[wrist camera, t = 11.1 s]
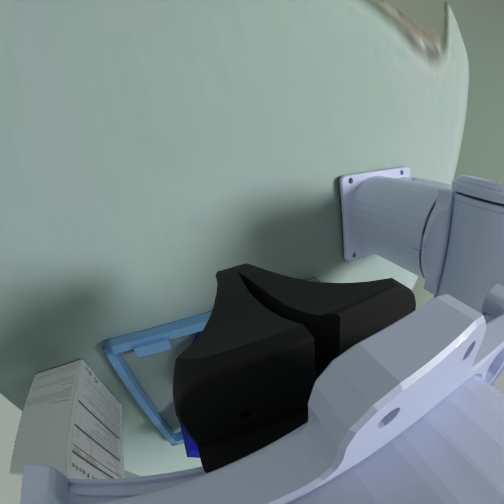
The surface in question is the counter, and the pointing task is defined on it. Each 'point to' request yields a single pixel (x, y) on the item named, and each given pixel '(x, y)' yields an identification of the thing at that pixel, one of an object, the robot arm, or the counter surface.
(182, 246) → the counter surface
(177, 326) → the blue grey open frame
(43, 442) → the supplement box
